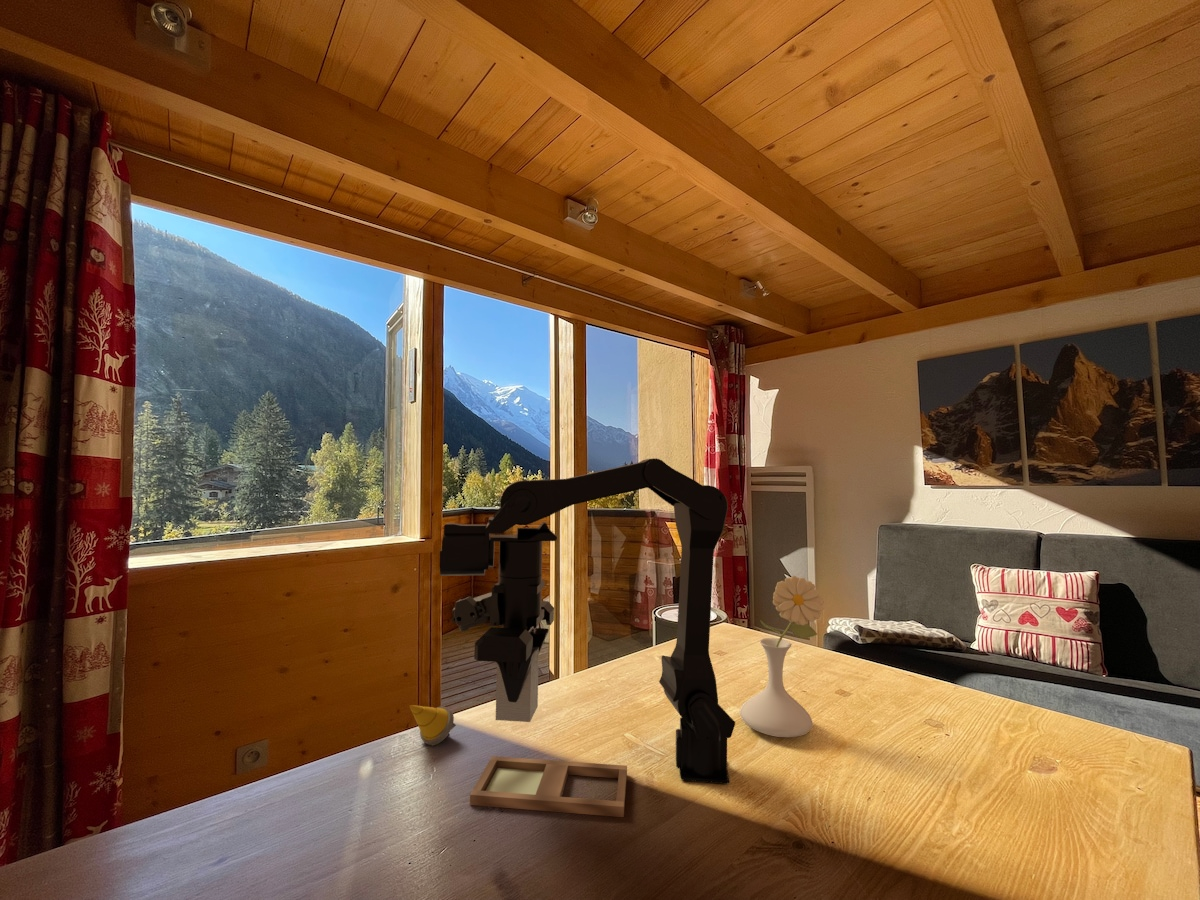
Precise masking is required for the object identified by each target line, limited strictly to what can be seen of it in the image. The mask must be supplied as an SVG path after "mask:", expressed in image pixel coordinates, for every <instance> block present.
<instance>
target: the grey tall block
mask: <svg viewBox="0 0 1200 900" xmlns="http://www.w3.org/2000/svg"><path fill="white" fill-rule="evenodd" d="M532 648H533V649H536V652H535V654H534V657H533V660H532V663H531V665H530V668H529V671H528V673H527V676H526V679H525V682H524V684H523V687H522V690H521V693H520V695H519V698H518V700H517V702H509V701H508V698H507V694H506V690H505V686H504V682H503V679H502V675H501V671H500V668H499V665H498V664H497V663H496V682H495V685H496V687H495V688H496V689H495V721H504V722H505V721H508V722H520V723H521V722H523V723H531V722H532V719H533V717H534V714H536V711H537V709H538V705H539V704H538V703H539V702H538V701H539V700H538V699H539V660H540V659H539V656H540V653H539V647H533V646H532Z"/></svg>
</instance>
